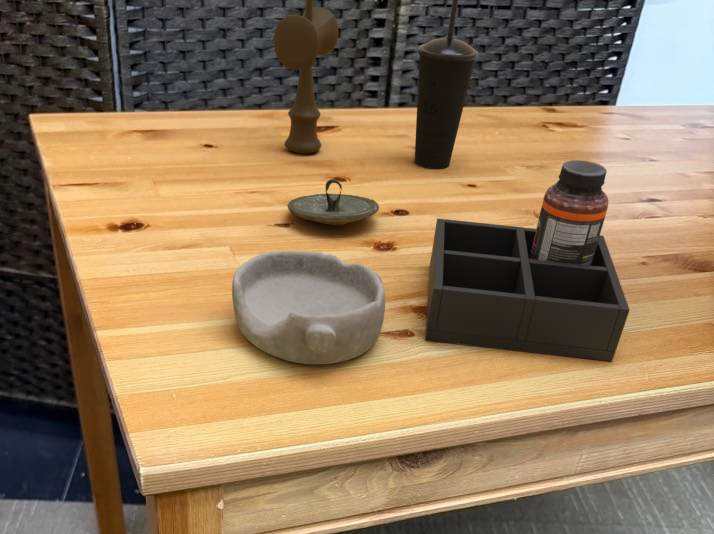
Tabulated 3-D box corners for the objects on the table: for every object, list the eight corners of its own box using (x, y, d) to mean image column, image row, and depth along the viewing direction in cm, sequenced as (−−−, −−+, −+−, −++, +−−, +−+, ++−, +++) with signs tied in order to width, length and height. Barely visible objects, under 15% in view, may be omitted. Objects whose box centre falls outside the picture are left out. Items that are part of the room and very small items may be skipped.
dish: (339, 387, 67) (344, 332, 64) (200, 340, 72) (198, 286, 68) (410, 320, 77) (417, 269, 73) (283, 282, 81) (285, 233, 78)
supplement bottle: (532, 267, 84) (560, 151, 77) (589, 280, 83) (624, 163, 75) (517, 288, 80) (545, 168, 73) (576, 303, 79) (612, 182, 71)
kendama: (269, 156, 110) (273, -21, 97) (294, 137, 117) (301, -30, 104) (311, 163, 109) (320, -15, 96) (334, 144, 116) (345, -25, 103)
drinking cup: (411, 151, 116) (433, -18, 102) (464, 159, 114) (493, -11, 101) (397, 166, 110) (419, -10, 97) (453, 175, 108) (482, -3, 95)
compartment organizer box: (589, 282, 85) (603, 235, 82) (612, 361, 73) (629, 309, 69) (429, 265, 86) (437, 218, 83) (425, 340, 74) (433, 288, 71)
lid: (333, 257, 90) (348, 216, 86) (267, 211, 92) (278, 169, 89) (384, 235, 97) (399, 195, 93) (321, 192, 99) (333, 152, 96)
